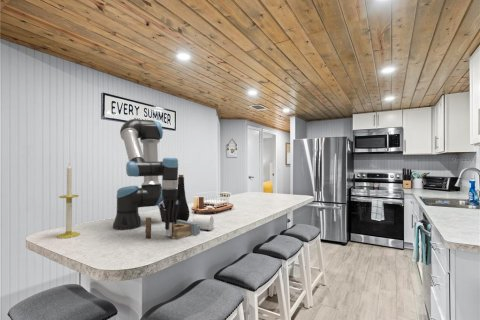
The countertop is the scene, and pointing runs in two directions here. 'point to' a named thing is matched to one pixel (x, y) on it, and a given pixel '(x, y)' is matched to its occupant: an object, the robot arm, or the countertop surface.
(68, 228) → the candle
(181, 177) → the bottle
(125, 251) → the countertop surface
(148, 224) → the dowel
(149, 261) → the countertop surface
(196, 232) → the backstop wall
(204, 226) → the mug
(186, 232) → the block
